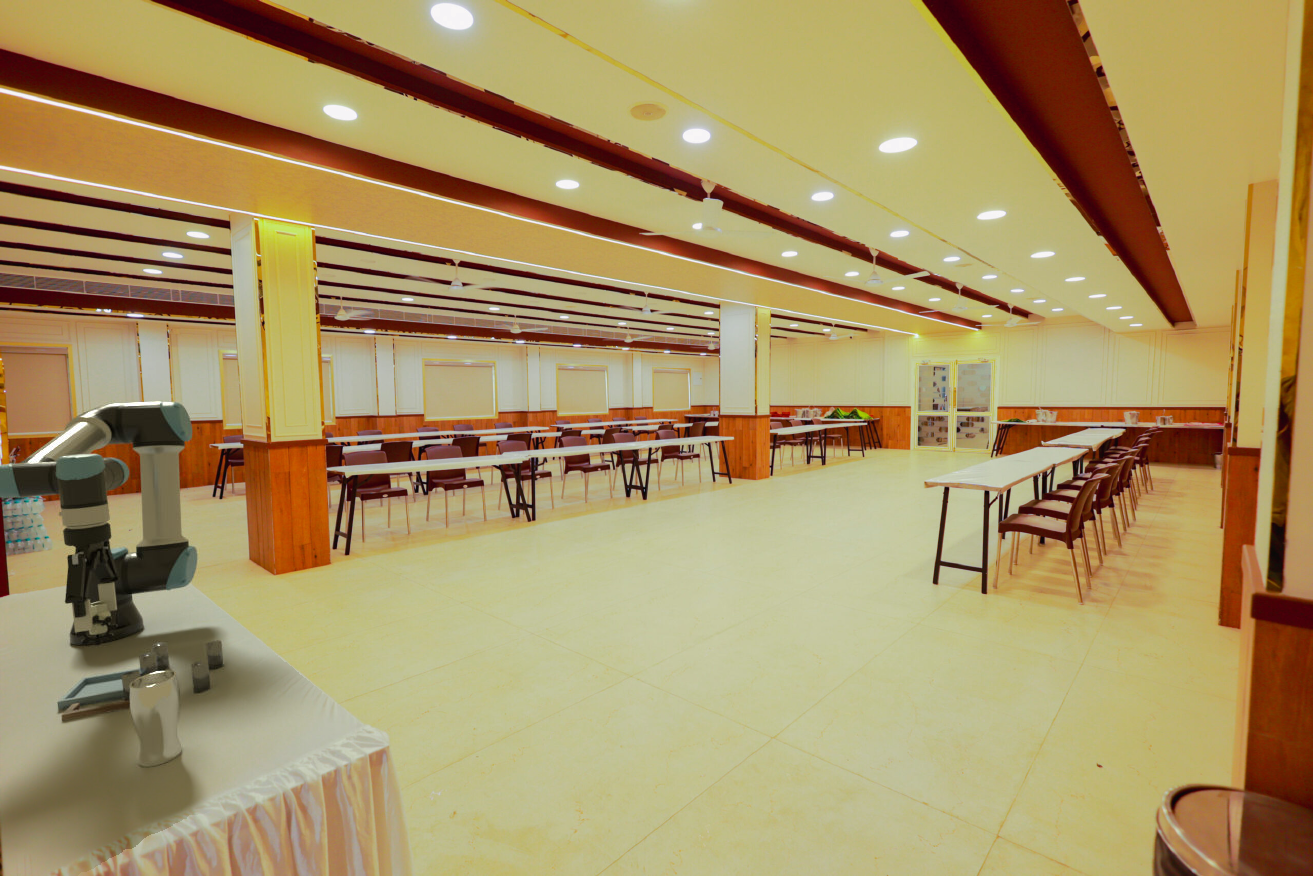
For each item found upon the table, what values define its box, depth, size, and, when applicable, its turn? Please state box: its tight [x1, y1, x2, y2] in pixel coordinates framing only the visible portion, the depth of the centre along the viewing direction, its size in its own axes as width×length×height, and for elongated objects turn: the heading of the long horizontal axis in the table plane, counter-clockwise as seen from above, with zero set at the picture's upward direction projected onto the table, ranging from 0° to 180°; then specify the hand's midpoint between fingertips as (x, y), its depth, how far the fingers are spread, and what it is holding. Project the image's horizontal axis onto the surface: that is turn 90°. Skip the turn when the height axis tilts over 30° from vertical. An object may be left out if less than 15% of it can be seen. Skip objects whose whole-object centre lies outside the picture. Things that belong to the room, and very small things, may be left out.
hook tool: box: [61, 700, 130, 721], centre depth 128 cm, size 5×14×1 cm, turn 114°
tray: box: [57, 667, 141, 711], centre depth 134 cm, size 12×12×2 cm
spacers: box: [122, 639, 224, 701], centre depth 139 cm, size 20×16×6 cm
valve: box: [76, 601, 117, 646], centre depth 133 cm, size 7×7×12 cm
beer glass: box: [129, 670, 183, 768], centre depth 109 cm, size 7×7×15 cm
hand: (97, 620), depth 133 cm, fingers closed on valve, 12 cm apart
